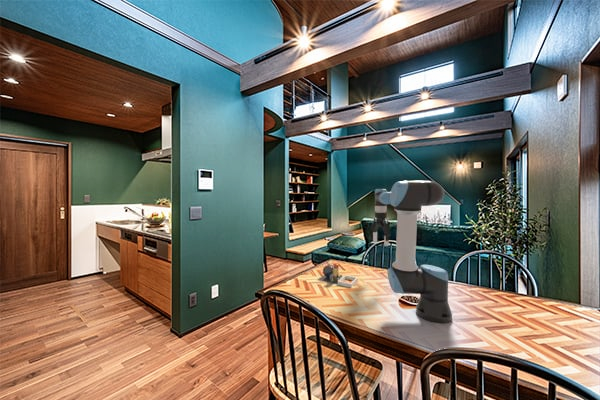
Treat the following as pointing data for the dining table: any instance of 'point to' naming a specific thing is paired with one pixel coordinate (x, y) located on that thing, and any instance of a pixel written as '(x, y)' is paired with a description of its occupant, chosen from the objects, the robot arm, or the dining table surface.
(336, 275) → the lock pin
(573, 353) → the dining table surface
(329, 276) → the pulley block
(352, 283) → the tray
